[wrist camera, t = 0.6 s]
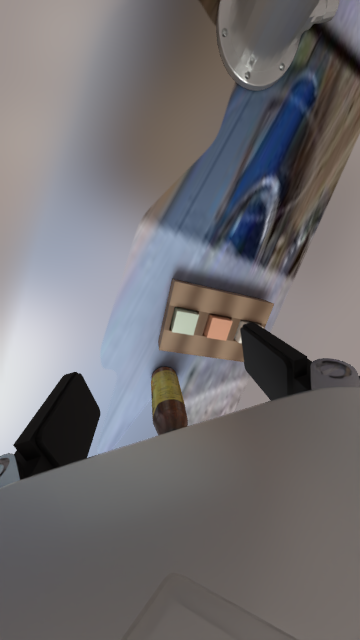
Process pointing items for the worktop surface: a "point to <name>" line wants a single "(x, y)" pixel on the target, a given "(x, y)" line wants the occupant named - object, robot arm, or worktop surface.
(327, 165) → the worktop surface
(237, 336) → the cream button
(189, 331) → the sage button
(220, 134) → the worktop surface
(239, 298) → the button panel
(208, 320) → the terracotta button
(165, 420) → the sauce bottle
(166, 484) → the robot arm
